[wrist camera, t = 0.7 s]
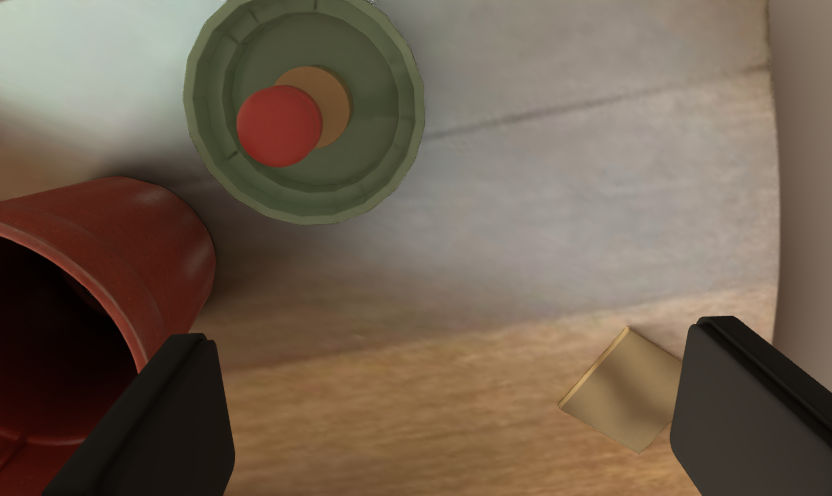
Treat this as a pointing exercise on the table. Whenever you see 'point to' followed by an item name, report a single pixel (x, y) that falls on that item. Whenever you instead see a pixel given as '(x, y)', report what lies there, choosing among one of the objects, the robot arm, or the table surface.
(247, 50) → the bowl
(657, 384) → the coaster
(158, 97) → the table surface
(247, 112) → the tulip
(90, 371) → the flower pot
